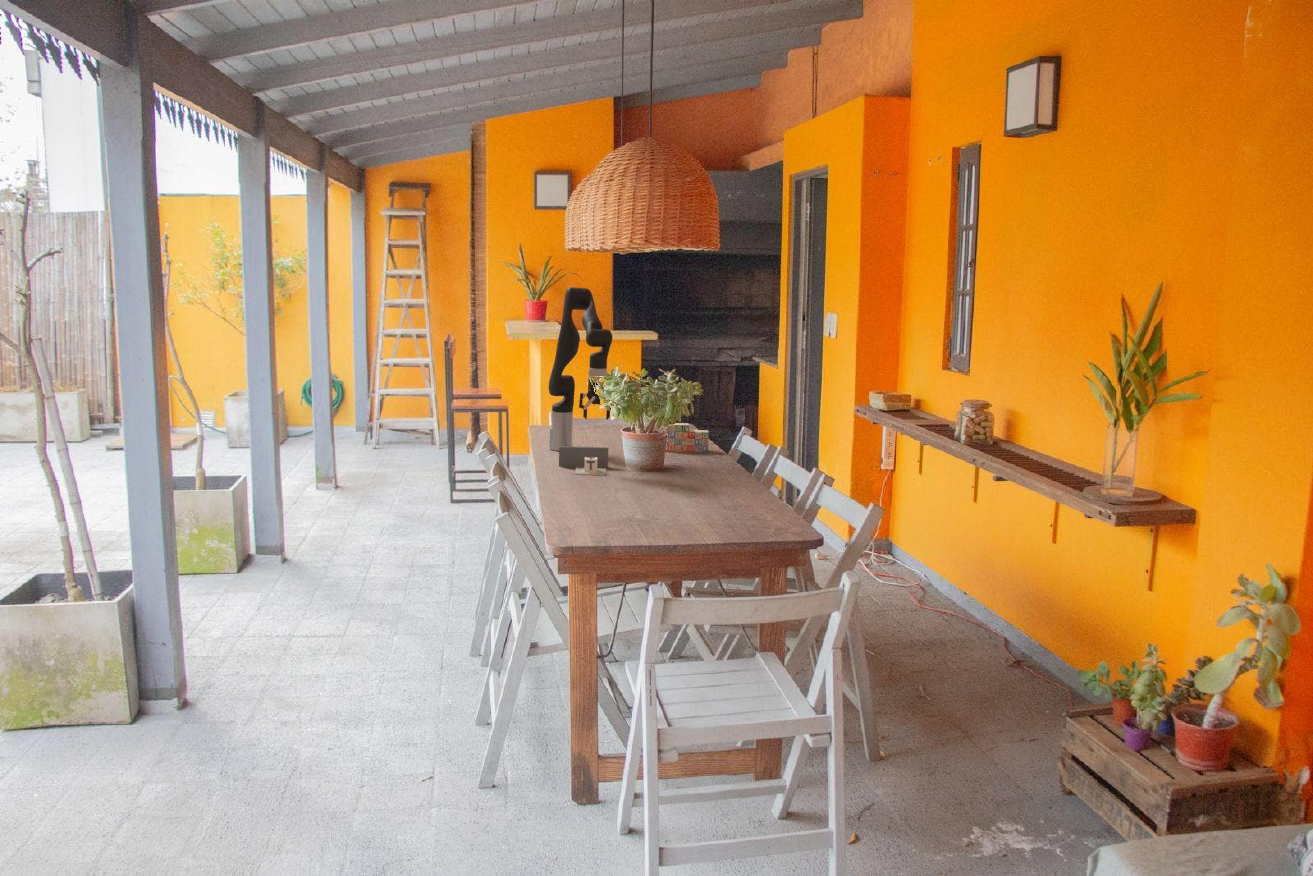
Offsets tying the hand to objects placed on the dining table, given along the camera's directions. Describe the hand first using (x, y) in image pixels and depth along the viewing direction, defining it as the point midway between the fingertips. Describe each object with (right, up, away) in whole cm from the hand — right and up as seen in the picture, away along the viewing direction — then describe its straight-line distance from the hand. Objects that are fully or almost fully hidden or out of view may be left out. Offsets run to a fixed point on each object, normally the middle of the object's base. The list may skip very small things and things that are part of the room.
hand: (596, 419), depth 408 cm
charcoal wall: (-6, -19, +6) cm, 21 cm away
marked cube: (-2, -21, -5) cm, 21 cm away
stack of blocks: (+37, -14, +51) cm, 65 cm away
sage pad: (-2, -21, -5) cm, 22 cm away
